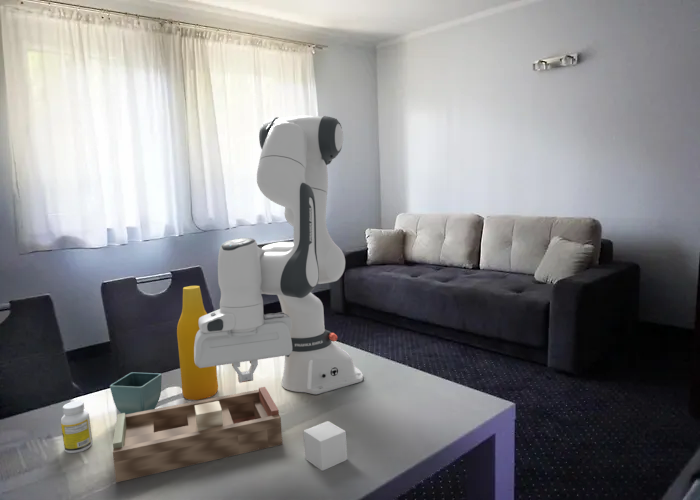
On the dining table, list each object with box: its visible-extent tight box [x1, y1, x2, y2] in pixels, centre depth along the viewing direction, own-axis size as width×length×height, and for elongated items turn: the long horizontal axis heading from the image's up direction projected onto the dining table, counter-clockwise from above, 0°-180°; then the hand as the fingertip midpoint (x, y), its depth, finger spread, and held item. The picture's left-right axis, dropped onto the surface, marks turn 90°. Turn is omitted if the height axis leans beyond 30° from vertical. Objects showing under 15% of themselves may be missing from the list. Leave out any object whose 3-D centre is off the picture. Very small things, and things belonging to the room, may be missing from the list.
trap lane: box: [112, 386, 283, 483], centre depth 109 cm, size 32×17×7 cm, turn 111°
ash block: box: [195, 401, 223, 431], centre depth 106 cm, size 5×5×5 cm
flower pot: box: [109, 371, 163, 414], centre depth 125 cm, size 9×9×9 cm
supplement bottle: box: [60, 400, 93, 454], centre depth 109 cm, size 5×5×10 cm
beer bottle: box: [176, 285, 219, 401], centre depth 134 cm, size 9×9×29 cm
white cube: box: [303, 420, 348, 472], centre depth 100 cm, size 6×6×6 cm
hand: (245, 380), depth 107 cm, fingers closed
